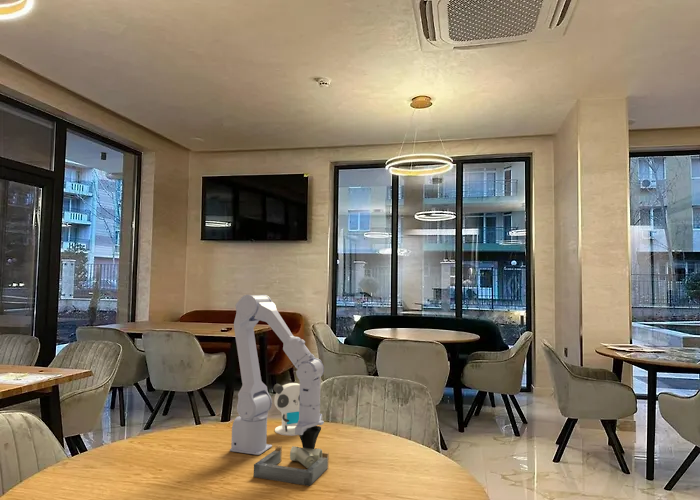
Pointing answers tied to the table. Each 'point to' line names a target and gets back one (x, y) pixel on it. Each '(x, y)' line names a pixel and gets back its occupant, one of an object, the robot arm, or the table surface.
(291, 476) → the grey u-shaped frame
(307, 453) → the pipe fitting
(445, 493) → the table surface
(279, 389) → the panda figurine
